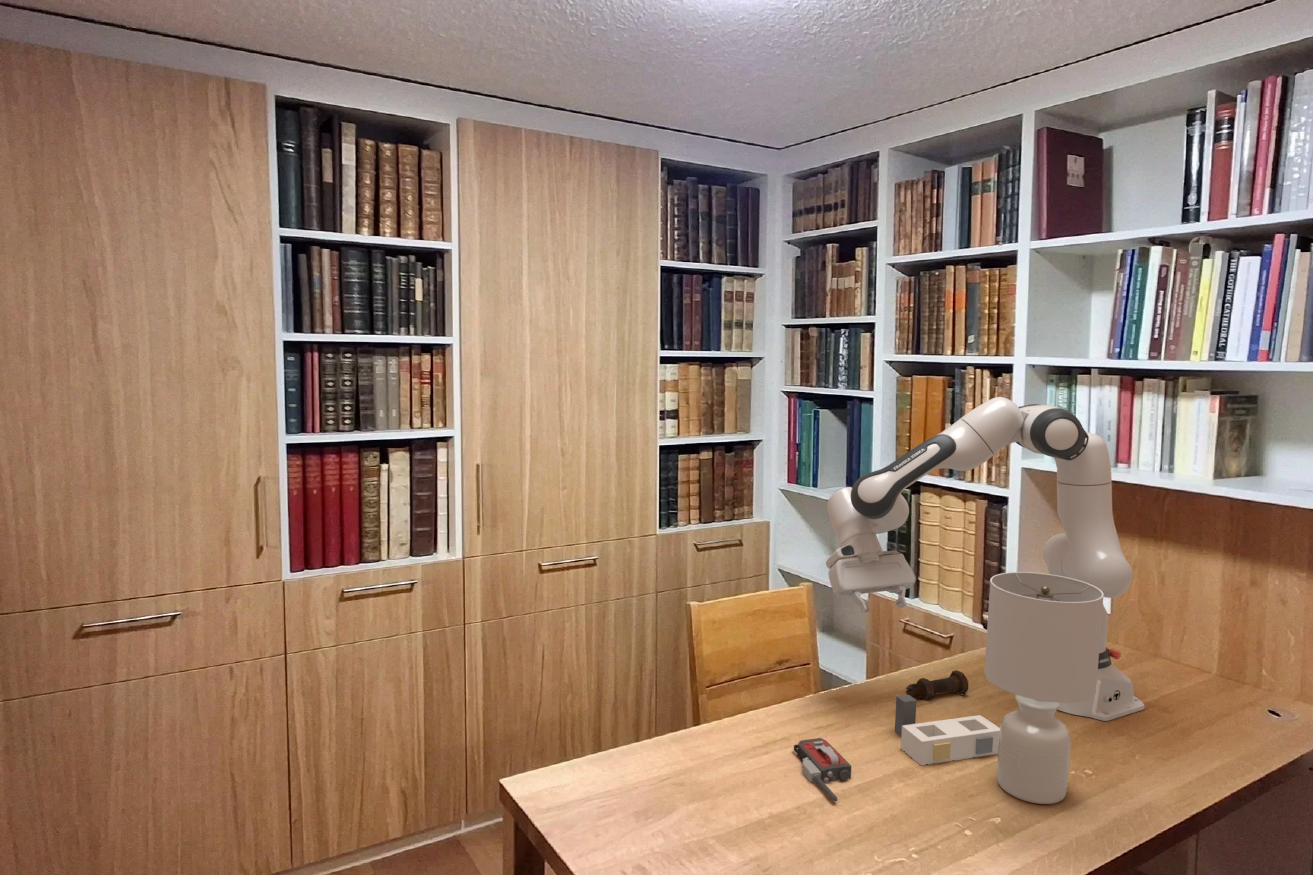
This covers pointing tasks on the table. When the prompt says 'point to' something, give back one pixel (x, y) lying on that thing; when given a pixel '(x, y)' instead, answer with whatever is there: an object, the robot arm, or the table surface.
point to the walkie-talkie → (822, 763)
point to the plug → (904, 712)
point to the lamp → (1040, 673)
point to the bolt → (938, 686)
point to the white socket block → (950, 739)
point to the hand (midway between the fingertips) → (884, 608)
